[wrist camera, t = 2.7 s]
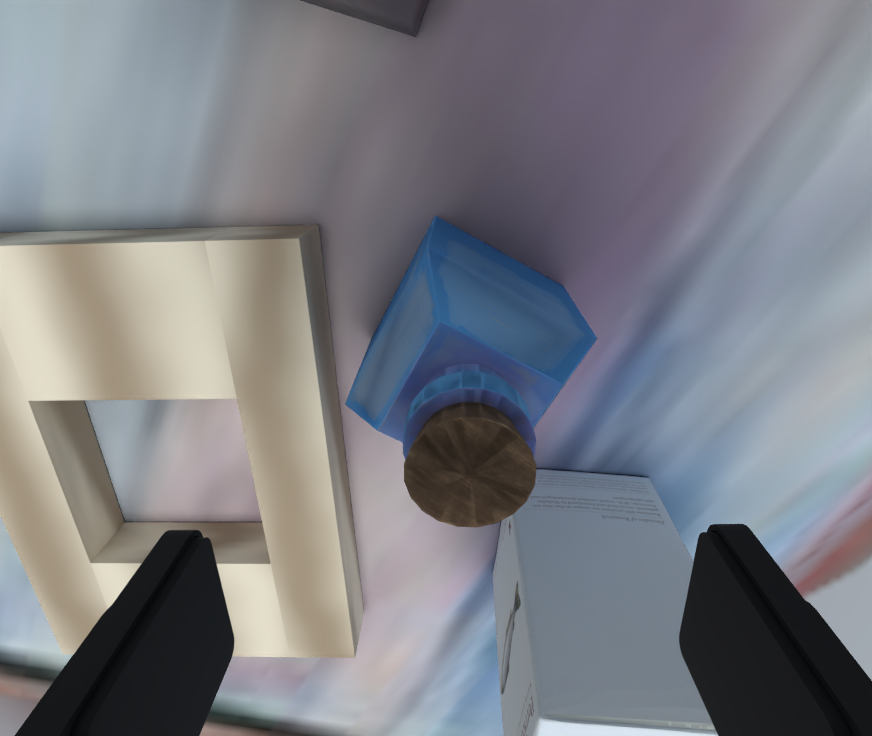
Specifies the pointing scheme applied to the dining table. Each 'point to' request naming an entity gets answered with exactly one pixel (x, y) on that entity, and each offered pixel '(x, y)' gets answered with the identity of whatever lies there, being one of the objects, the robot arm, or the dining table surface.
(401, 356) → the perfume bottle
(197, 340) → the hole board
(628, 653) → the supplement box
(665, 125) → the dining table surface
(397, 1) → the coffee grinder
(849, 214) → the dining table surface
